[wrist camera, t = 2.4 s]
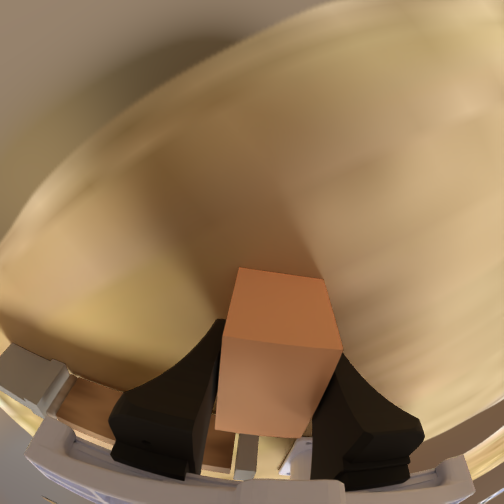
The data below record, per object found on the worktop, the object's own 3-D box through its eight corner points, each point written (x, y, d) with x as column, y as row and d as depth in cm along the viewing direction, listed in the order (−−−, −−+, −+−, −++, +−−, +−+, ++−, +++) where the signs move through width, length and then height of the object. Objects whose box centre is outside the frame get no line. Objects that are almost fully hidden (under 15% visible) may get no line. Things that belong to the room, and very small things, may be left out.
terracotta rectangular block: (323, 278, 13) (343, 349, 9) (296, 367, 16) (300, 438, 11) (239, 266, 14) (222, 335, 9) (228, 358, 16) (214, 429, 11)
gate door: (237, 418, 18) (230, 468, 14) (236, 425, 18) (229, 473, 14) (68, 372, 18) (44, 409, 14) (71, 380, 18) (48, 416, 14)
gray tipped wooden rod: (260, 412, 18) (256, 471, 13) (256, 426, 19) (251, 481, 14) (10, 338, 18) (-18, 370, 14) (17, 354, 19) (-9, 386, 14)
